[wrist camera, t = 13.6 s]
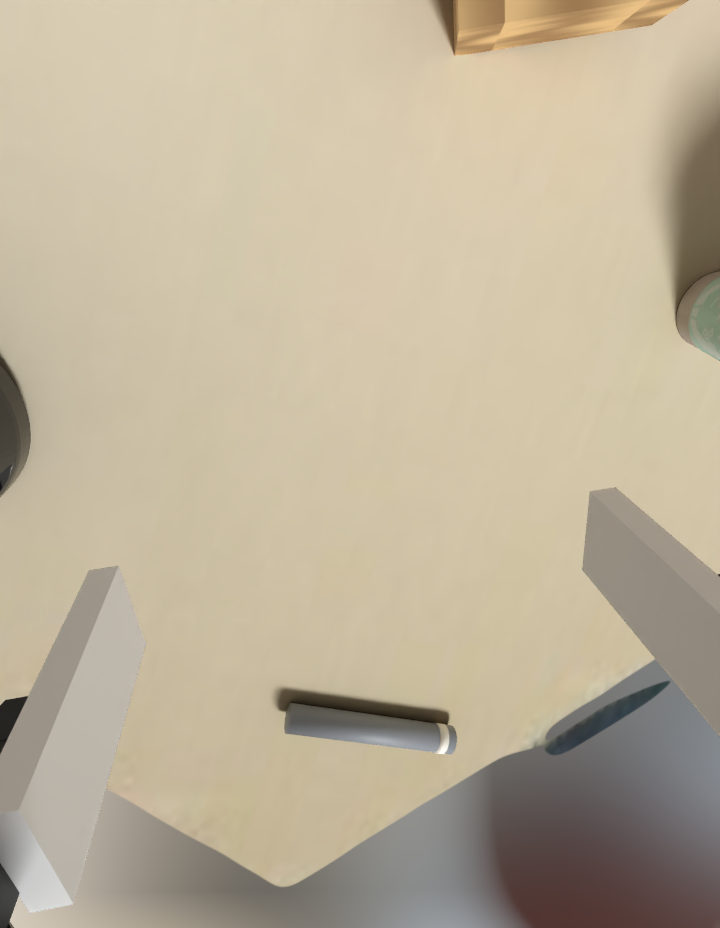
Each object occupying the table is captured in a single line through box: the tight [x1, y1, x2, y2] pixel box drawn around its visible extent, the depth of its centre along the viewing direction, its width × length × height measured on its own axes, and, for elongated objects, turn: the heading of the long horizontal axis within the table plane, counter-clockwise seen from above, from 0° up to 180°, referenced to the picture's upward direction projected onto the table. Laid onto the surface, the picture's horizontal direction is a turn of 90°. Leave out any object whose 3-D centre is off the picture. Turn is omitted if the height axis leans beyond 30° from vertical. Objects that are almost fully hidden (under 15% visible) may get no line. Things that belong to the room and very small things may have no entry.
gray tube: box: [285, 703, 457, 754], centre depth 58 cm, size 3×3×18 cm
